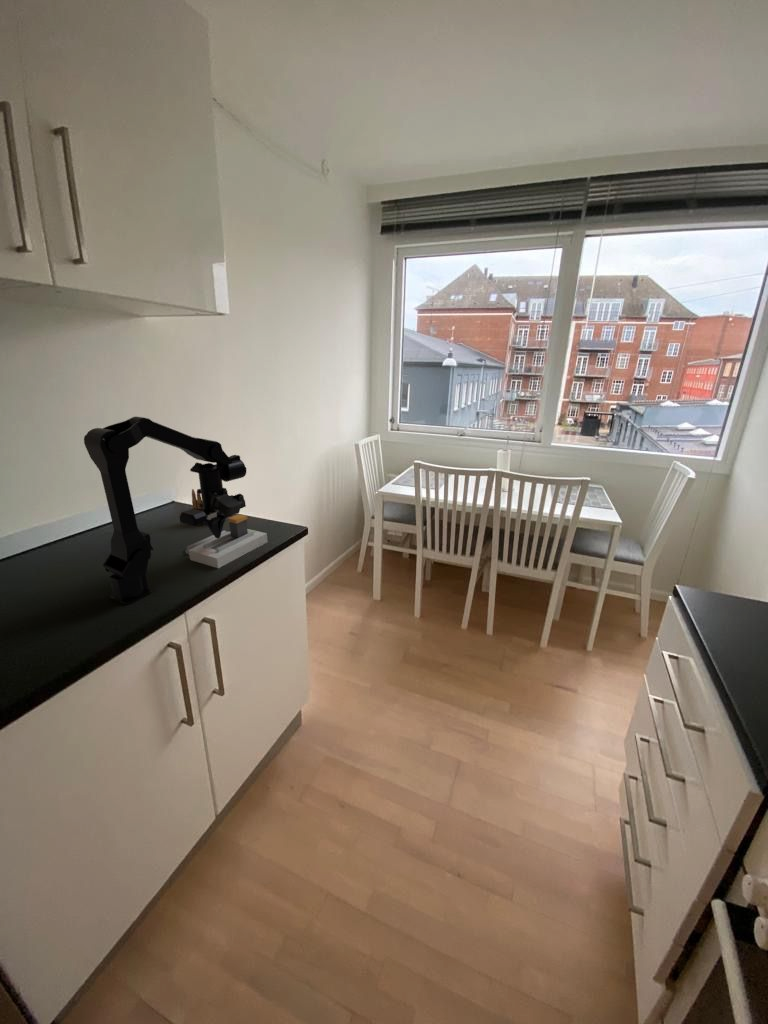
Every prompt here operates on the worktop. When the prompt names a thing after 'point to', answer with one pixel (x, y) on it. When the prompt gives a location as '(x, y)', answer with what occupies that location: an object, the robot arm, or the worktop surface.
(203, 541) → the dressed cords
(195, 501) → the ammunition clip
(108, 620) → the worktop surface
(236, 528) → the breaker lever
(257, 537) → the breaker panel
